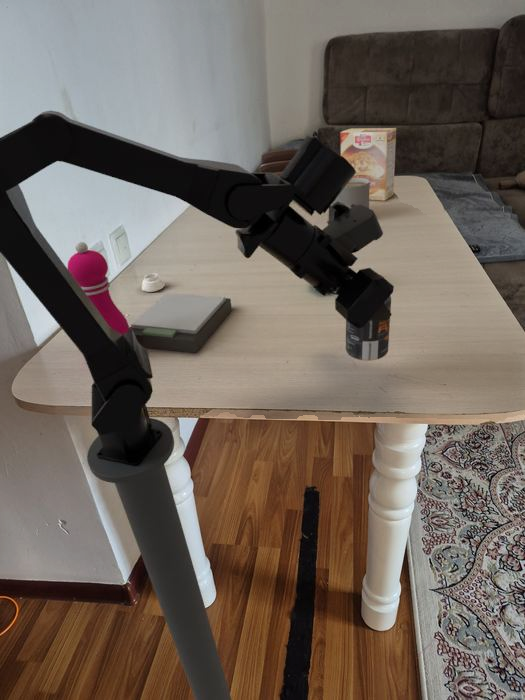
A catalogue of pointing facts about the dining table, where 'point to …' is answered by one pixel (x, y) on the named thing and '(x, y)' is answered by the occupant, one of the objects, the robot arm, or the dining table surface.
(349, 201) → the coffee mug
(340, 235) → the robot arm
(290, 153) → the letter holder
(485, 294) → the dining table surface
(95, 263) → the pepper mill
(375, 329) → the pill bottle
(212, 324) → the scale
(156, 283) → the white jar
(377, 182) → the coffeecake box
